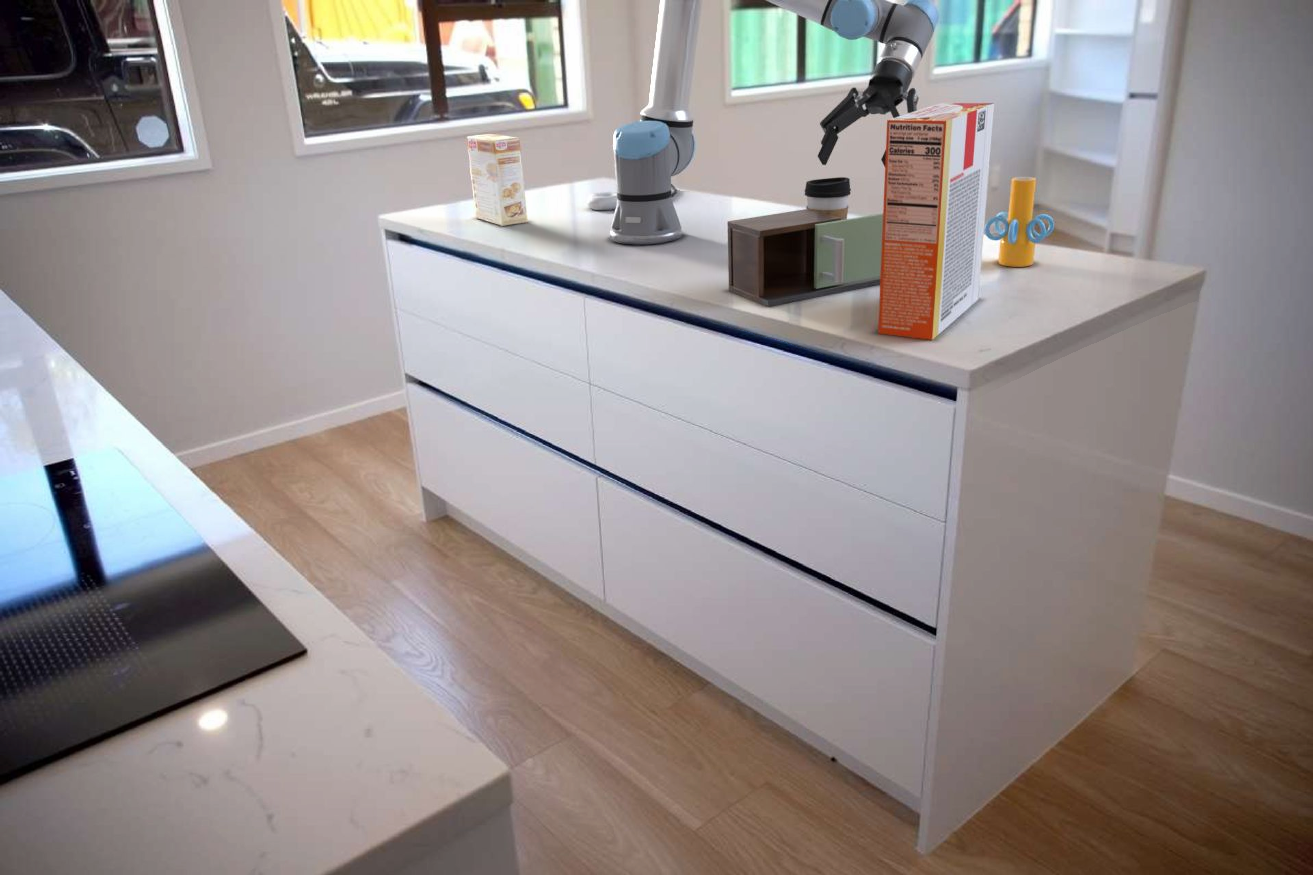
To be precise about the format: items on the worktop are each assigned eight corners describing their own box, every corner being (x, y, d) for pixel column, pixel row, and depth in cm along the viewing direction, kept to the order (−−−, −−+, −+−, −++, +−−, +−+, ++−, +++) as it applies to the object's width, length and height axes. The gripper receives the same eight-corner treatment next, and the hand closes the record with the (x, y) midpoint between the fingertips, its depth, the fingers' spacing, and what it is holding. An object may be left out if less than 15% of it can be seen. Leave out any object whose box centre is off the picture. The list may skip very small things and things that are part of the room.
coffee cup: (848, 265, 184) (850, 182, 178) (802, 265, 186) (803, 183, 180) (849, 254, 192) (851, 175, 186) (805, 255, 193) (806, 176, 187)
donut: (585, 213, 245) (626, 210, 245) (584, 198, 244) (625, 196, 243) (588, 205, 254) (627, 203, 254) (587, 191, 253) (626, 189, 252)
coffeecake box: (528, 222, 237) (520, 137, 229) (501, 226, 233) (492, 140, 225) (501, 214, 248) (492, 132, 240) (474, 218, 245) (465, 136, 237)
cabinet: (728, 291, 171) (727, 221, 167) (854, 267, 183) (856, 201, 178) (767, 306, 161) (767, 233, 157) (898, 280, 173) (902, 211, 168)
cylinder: (1037, 274, 172) (1047, 186, 166) (977, 268, 178) (984, 183, 172) (1053, 258, 182) (1063, 174, 176) (995, 253, 187) (1002, 172, 181)
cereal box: (928, 294, 164) (940, 103, 152) (978, 299, 160) (994, 103, 148) (878, 333, 146) (887, 120, 134) (932, 340, 142) (946, 121, 130)
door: (813, 288, 166) (814, 224, 162) (887, 273, 172) (890, 212, 168) (834, 295, 161) (835, 229, 157) (909, 280, 168) (912, 217, 164)
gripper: (831, 58, 197) (789, 147, 193) (950, 57, 182) (907, 153, 177) (844, 84, 203) (803, 171, 198) (960, 85, 188) (919, 178, 183)
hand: (852, 162), depth 188 cm, fingers open, 13 cm apart
